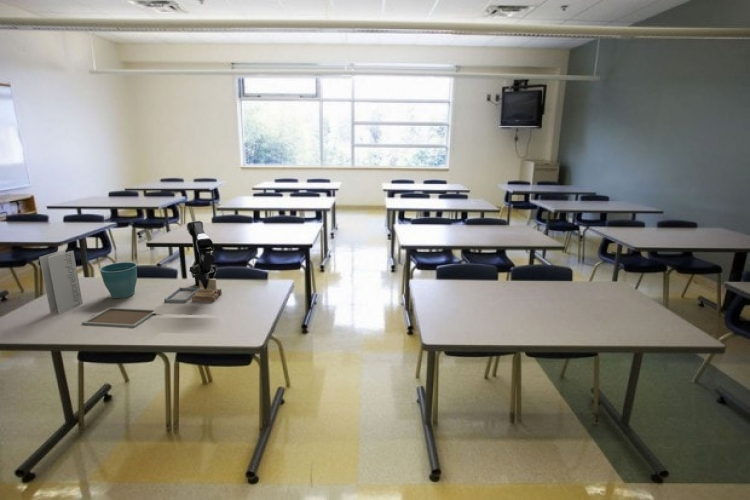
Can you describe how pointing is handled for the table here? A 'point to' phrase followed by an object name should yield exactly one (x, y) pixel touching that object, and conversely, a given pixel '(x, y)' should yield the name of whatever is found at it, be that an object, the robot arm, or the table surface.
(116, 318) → the picture frame
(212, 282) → the birch sheet
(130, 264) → the flower pot
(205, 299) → the walnut rack
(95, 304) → the table surface
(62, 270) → the brochure
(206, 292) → the upper oak offcut
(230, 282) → the table surface
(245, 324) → the table surface
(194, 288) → the gray tray
